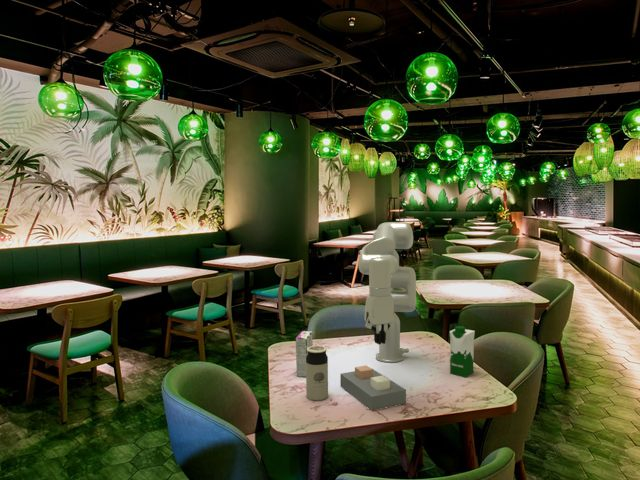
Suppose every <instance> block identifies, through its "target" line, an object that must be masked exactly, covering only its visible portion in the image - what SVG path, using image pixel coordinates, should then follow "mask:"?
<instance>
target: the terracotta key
mask: <svg viewBox="0 0 640 480" xmlns="http://www.w3.org/2000/svg"><path fill="white" fill-rule="evenodd" d="M373 369H374V368H372V369H371V367H370V366H368V365H367V364H365V365H361V366H355V367H354V371H355V376H356V377H358V378H359V379H361V380H362V379H367V378H372V377H373Z"/></svg>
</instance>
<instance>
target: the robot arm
mask: <svg viewBox="0 0 640 480" xmlns="http://www.w3.org/2000/svg"><path fill="white" fill-rule="evenodd" d="M411 226H412V225H410V224H409V223H408V222H404V221H399V222H398V221H391V222H390V221H388V222H383V223H380V224H378V227H377V228H376V231H374V232H373V235H372V239H373V240H372V241H371V242H369V243H366V244H365V245H364V246H362V248H361V251H360V253H359V258H358V265H357V266H358V270H359V272H360V273H361V274H363V275H368V277H369V278H368V279H369V280H368V281H369V284H368V288H369V289H368V290H369V291H368V292H369V293H368V295H367V296H366V301H365V305H364V322H365V325H364V328H367V329H370V330H371V331H372V332H373V337H374V338H373V341H374V343H375V344H377V345H378V353H376V355H375V359H376V360H377V361H380V362H384V363H399V362H402V361H403V360H404V355H403V354H408V353H409V352H410V349H409V348H407V347H406V348H404V347H401V321H400V318H399V316H398V315H397V314H396V313H398V312H400V313H411V312H414V311H415V310H416V306H417V275H416V272H415V270H414V268H412V267H408V266H400V256H399V254H398V252H397V250H409V249H411V248H412V247H413V244H414V234H413V233H414V232H413V227H411ZM395 288H396V289H405V290H396V289H395ZM394 289H395V290H394Z"/></svg>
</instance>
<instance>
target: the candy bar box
mask: <svg viewBox="0 0 640 480" xmlns="http://www.w3.org/2000/svg"><path fill="white" fill-rule="evenodd" d="M310 346H314V344H313V331H312V330H311V331H309V330H307V331H306V330H302V331H301V332H300V333H299V334H298V335H297V336H296V338H295V358H296V359H295V360H296V365H295V366H296V377H297V378H298V377H299V378H301V377H302V378H306V356H307V354H308V352H307V348H308V347H310Z"/></svg>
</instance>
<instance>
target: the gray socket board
mask: <svg viewBox="0 0 640 480" xmlns="http://www.w3.org/2000/svg"><path fill="white" fill-rule="evenodd" d="M370 368H371V367H370ZM371 369H373V377H377V376H384V377H386V376H385V375H383V374H381V373H380V372H379V371H377V370H375V369H374V368H371ZM339 374H340V377H339V378H340V380H339V381H340V387H341V388H342V389H343V390H345V392H347V393H349V394H350V395H351V396H352V397H353V398H355V399H356V400H357V401H359V403H360V404H362V405H363V404H364V405H363V406H364V407H366V408H367V407H368V408H369V409H368V408H367V409H368V410H370V411H371V410H374V411H376V410H375V409H379V410H381V409H380V408H384V409H386V408H385V407H388V408H391V407H390V406H393V407H396V406H395V405H397V406H400V405H399V404H402V405H406V404H407V389H405V388H404V387H403V386H401V385H399V384H398V383H396V382H395V381H393V380H391V379H389V378H388V377H386V378H387V379H389V380H390V389H386V390H381V391H376V390H375V389H374V388H372V387H371V378H367V379H362V380H361V379H359V378H358V377H356V376H355V370H354V371H353V370H352V371H350V372H349V371H348V372H343V373H339Z"/></svg>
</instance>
